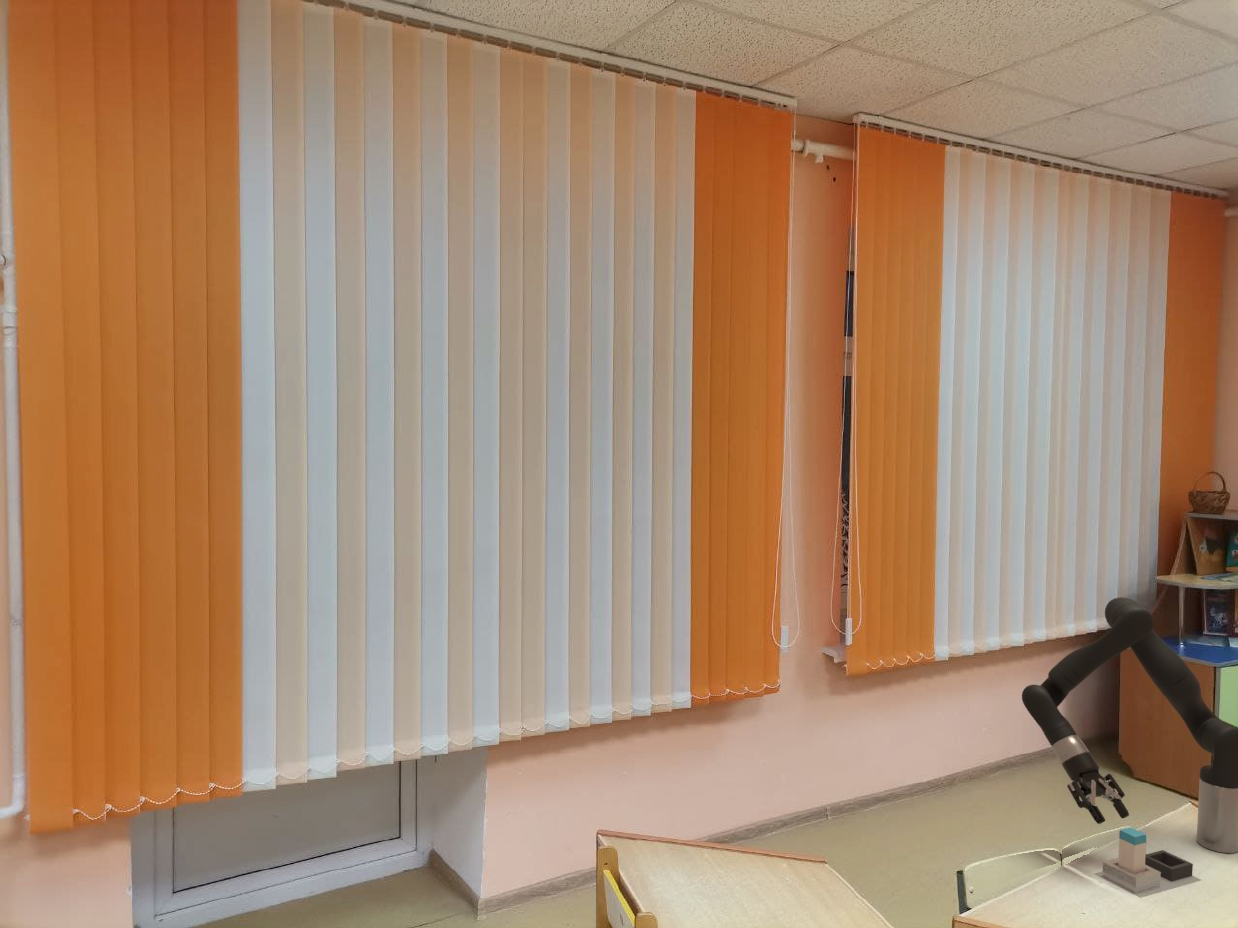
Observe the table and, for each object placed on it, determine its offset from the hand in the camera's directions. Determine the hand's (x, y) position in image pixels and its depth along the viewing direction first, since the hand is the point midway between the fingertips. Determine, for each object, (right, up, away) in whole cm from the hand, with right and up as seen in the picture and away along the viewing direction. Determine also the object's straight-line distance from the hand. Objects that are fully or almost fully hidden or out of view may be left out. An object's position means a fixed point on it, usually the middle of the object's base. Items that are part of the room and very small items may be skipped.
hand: (1114, 819), depth 217 cm
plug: (+2, -13, -4) cm, 14 cm away
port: (+2, -14, -4) cm, 15 cm away
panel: (+7, -14, -2) cm, 16 cm away
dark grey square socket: (+14, -14, +1) cm, 20 cm away
